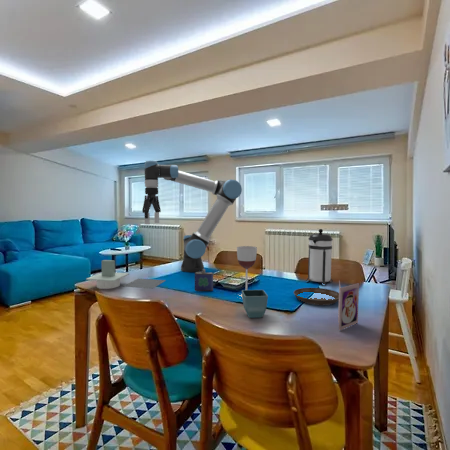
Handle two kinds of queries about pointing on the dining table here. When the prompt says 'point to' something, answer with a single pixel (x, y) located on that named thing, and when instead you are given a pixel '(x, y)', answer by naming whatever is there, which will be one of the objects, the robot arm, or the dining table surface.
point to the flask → (203, 281)
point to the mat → (144, 283)
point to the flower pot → (254, 302)
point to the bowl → (108, 284)
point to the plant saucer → (315, 300)
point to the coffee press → (320, 257)
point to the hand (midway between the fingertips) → (152, 223)
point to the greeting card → (348, 305)
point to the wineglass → (246, 258)
